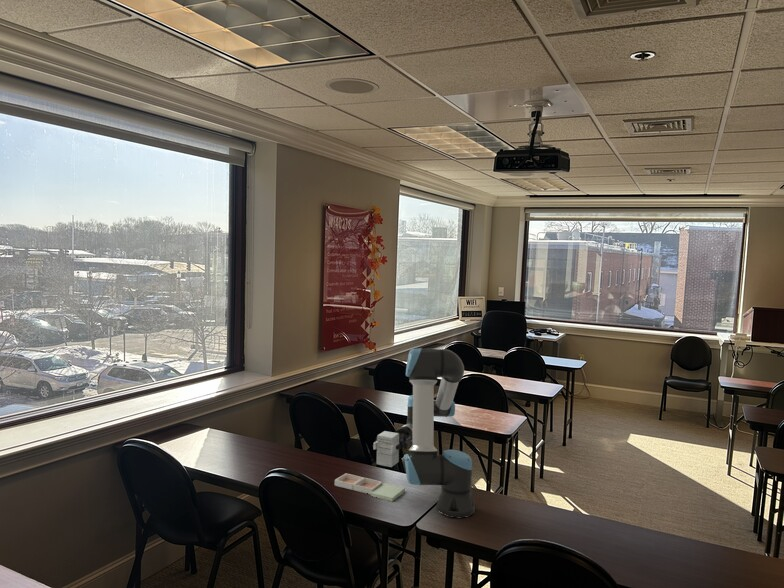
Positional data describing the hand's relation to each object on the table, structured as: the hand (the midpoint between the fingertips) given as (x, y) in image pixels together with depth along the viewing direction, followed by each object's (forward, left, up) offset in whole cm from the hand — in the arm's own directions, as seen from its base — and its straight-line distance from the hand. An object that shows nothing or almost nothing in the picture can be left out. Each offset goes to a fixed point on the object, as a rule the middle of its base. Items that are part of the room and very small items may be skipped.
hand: (382, 447), depth 231 cm
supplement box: (+3, -4, -8) cm, 10 cm away
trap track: (+10, +1, -21) cm, 23 cm away
